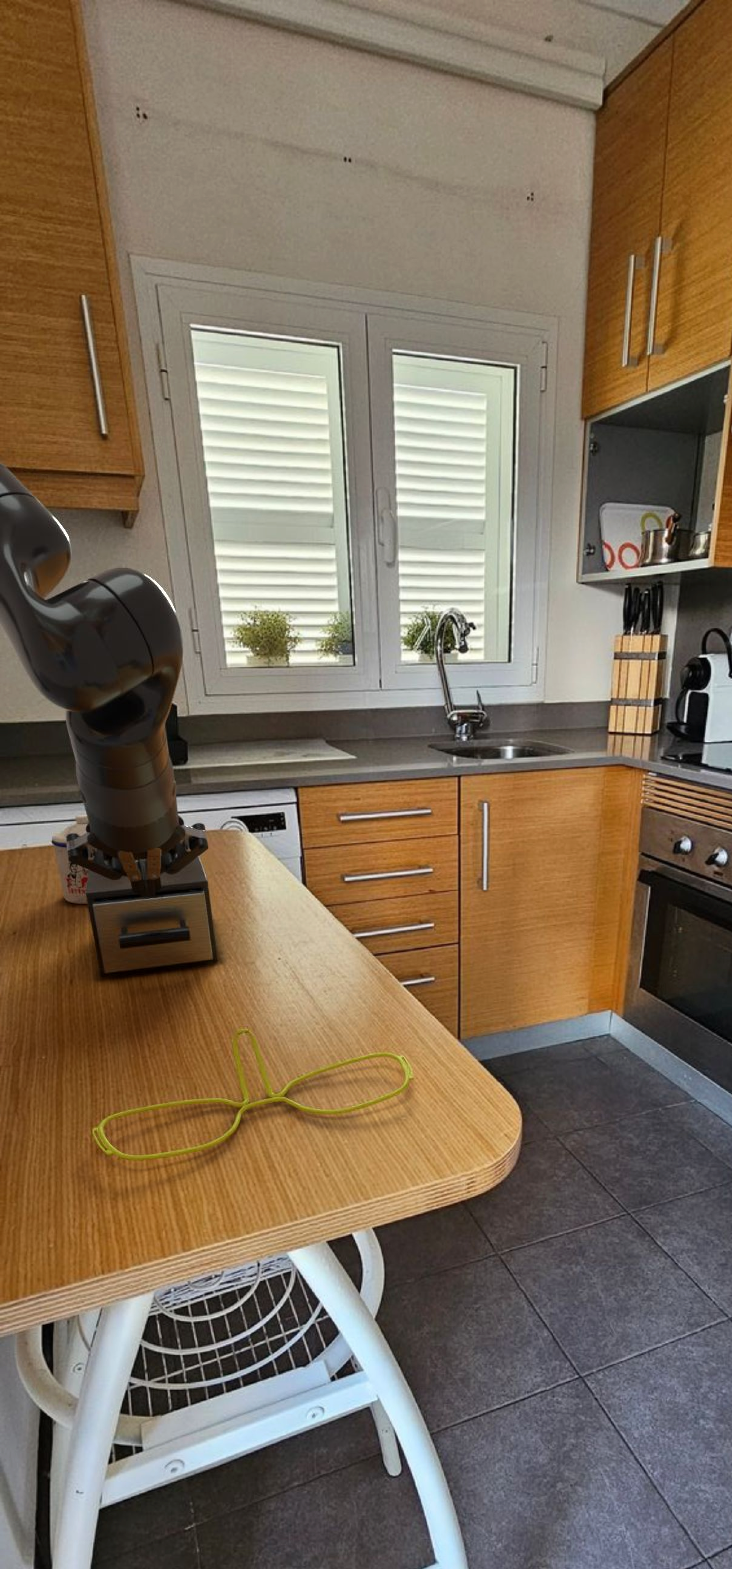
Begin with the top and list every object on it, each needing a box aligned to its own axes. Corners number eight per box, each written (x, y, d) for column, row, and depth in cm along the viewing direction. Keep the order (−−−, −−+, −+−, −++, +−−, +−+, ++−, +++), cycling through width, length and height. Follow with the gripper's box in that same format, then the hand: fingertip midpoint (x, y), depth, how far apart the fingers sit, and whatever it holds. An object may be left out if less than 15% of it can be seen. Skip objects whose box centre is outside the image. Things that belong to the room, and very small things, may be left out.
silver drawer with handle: (216, 973, 91) (208, 904, 88) (104, 989, 87) (91, 917, 84) (202, 921, 107) (194, 861, 104) (107, 932, 104) (96, 870, 101)
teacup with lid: (62, 908, 116) (46, 824, 111) (62, 891, 123) (47, 812, 119) (153, 897, 120) (141, 816, 116) (148, 881, 128) (136, 805, 123)
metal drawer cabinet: (217, 961, 97) (207, 880, 93) (100, 976, 93) (85, 893, 89) (206, 920, 110) (197, 849, 107) (103, 932, 106) (90, 858, 103)
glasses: (101, 1183, 58) (89, 1123, 56) (89, 1115, 66) (78, 1061, 64) (430, 1096, 68) (429, 1044, 66) (384, 1047, 76) (382, 999, 74)
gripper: (203, 747, 74) (208, 851, 89) (39, 755, 70) (74, 863, 85) (215, 818, 72) (218, 913, 87) (46, 831, 67) (80, 929, 83)
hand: (146, 888), depth 86 cm, fingers closed
